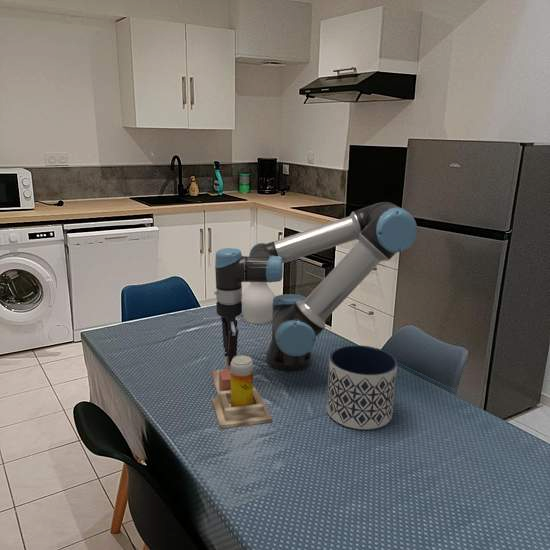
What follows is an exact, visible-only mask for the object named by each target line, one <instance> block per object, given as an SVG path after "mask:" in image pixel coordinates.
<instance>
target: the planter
mask: <svg viewBox="0 0 550 550" xmlns="http://www.w3.org/2000/svg"><path fill="white" fill-rule="evenodd" d="M397 370H398V361H397V359H396V357H395V356H394V355H392V354H391V353H389V352H388V351H386V350H384V349H380V348H378V347H375V346H370V345H361V344H360V345H358V344H356V345H355V344H354V345H345V346H341V347H338V348H335V350H333V351H332V352H331V353H330V354H329V360H328V373H327V374H328V375H327V376H328V377H327V390H326V391H327V393H326V396H327V397H326V411H327V414H328V415H329V417H330V418H331V419H332V420H334V421H335V422H336V423H338V424H340V425H342V426H345V427H347V428H350V429H355V430H375V429H379V428H383V427H384V426H386V425H388V424H389V422H391V420H392V418H393V413H394V404H395V403H394V402H395V401H394V400H395V391H396V382H397V381H396V380H397V372H398V371H397Z"/></svg>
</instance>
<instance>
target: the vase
mask: <svg viewBox="0 0 550 550" xmlns="http://www.w3.org/2000/svg"><path fill="white" fill-rule="evenodd" d="M274 297H276V294H275V293H274V291H273V290H272V289H271V288H270V287H269V286H268V282H249V285H248V287H247V288H245V290H244V291H243V292H242V300H241V302H242V316H243V317H242V320H243V321H244V322H245V323H247V324H250V325H251V324H252V325H266V324H269V323H272V314H273V306H272V304H273V299H274Z"/></svg>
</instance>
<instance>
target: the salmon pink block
mask: <svg viewBox="0 0 550 550" xmlns="http://www.w3.org/2000/svg"><path fill="white" fill-rule="evenodd" d="M219 370H220V371H219V389H220V391H228V390H231V369H230V370H223V369H219Z"/></svg>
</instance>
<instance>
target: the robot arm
mask: <svg viewBox="0 0 550 550" xmlns="http://www.w3.org/2000/svg"><path fill="white" fill-rule="evenodd" d="M417 234H418V226H417V222H416V220H415V218H414V216H412V215H411V213H410V212H408V211H407V210H406V209H405V208H402V207H400V206H398V205H397V204H395V203H393V202H389V201H383V202H376V203H374V204H372V205H371V204H370V205H368V206H365V207H362V208H360V209H358V210H354V211H352V212H351V213H350V215H349V216H345V217H343V218H339V219H337V220H334V221H331V222H328V223H325V224H321V225H320V226H316V227H313V228H311V229H306V230H303V231H301V232H298V233H297V232H296V233H295V234H292V235H289V236H286V237H282V238H280V239H276V240H274V241H271V242H268V243H264V242H259V243H256V244H255V245H253V246H252V247H251V248H250V252H249V255H248V256H246V255H245V256H244V255H242V251H241V250H240V249H239V248H232V247H226V248H220V249H219V250H217V251H216V252H215V262H214V263H215V267H214V269H215V291H214V292H213V293H214V295H216V304H215V305H216V306H215V307H216V314H217V315H218V316H219V317H220V319H221V328H222V341H223V342H222V343H223V348H224V352H225V353H223V356H224V357H225V358H224V361H225V363H224V364H225V366H224V367H225V368H224V369H225V370H230V369H231V361H232V359H233V358H234V357H236V356H238V353H237V352H238V340H239V339H238V336H239V329H238V320H237V319H236V317H238V316H240V315H241V314H243V312H242V302H241V300H242V294H243V292H242V291H243V287H242V286H243V284H242V283H250V282H267V283H275V282H276V283H277V282H281V281H282V280H283V277H284V275H283V273H284V265H283V264H285V263H288V262H291V261H294V260H297V259H301V258H304V257H307V256H309V255H312V254H316V253H318V252H323V251H325V250H328V249H331V248H334V247H337V246H341V245H343V244H346V243H350V242H352V241H355V240H358V242H357V243H356V244H355V245H354V246H353V247H352V248H351V249H350V250H349V252H347V254H346V255H345V256H344V257H342V259H341V260H340V261H339V262H338V263H337V264H336V266H334V268H333V269H332V270H331V271H330V272H329V273H328V274H327V276H325V277H324V279H322V281H320V282H319V284H317V286H316V287H315V288H314V289H313V290H312V291H311V293H309V295H308V296H307V297H306V296H304V295H302V294H296V293H295V294H294V293H293V294H292V293H289V294H286V293H285V294H279V295H275V297H274V299H273V304H272V306H273V314H272V321H271V323H272V324H271V325H272V326H271V341H270V343H269V346H268V348H267V352H266V356H265V357H266V358H265V362H266V363H267V365H268V366H269V367H271V368H273V369H275V370H278V371H284V372H295V371H296V372H298V371H302V370H304V369H307V368H309V367H310V365H311V364H312V353H311V351H312V350H313V349H314V347H315V345H316V342H317V337H318V336H319V335H320V333H322V331H324V329H325V328H326V320H327V318H329V317H330V316H331V314H332V313H333V312H334V311H335V310H336V309H337V308H338V307H339V306H340V305H341V304H342V303H344V301H345V300H346V299H347V298H348V297H349V296H350V294H352V292H353V291H355V289H356V288H357V287H358V286H359V285H360V284H362V282H363V281H364V280H365V279H366V278H367V276H369V275H370V273H371V272H372V271H373V270H374V269H375V268H376V267H377V266H378V265H379V264H380V263H381V262H388V261H390V260H391V259H392V258H393V257H394V256H395V255H396V254H397V253H402V252H404V251H407V249H409V248H410V247H411V246H412V245H413V244H414V243H415V240H416V238H417V236H418V235H417Z"/></svg>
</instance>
